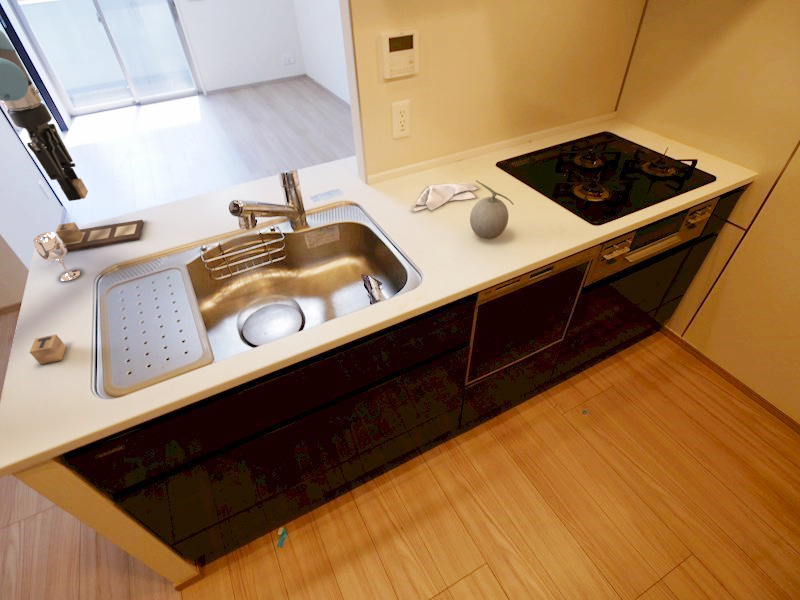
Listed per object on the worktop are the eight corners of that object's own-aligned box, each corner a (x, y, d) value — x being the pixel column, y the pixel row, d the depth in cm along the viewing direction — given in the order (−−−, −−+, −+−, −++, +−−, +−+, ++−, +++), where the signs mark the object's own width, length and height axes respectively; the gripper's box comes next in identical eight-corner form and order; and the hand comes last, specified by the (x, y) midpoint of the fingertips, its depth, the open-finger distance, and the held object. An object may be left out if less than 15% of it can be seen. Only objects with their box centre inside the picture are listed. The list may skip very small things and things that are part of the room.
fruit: (509, 246, 119) (519, 198, 109) (468, 244, 120) (474, 197, 110) (506, 226, 127) (515, 179, 117) (467, 224, 128) (472, 178, 118)
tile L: (63, 243, 121) (55, 231, 118) (66, 236, 124) (59, 224, 121) (78, 241, 122) (71, 229, 119) (82, 233, 124) (74, 221, 122)
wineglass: (57, 285, 109) (29, 246, 101) (58, 272, 113) (31, 234, 105) (82, 278, 111) (57, 240, 103) (83, 266, 115) (58, 228, 106)
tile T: (40, 364, 90) (28, 352, 87) (45, 350, 92) (34, 338, 90) (61, 360, 91) (50, 347, 88) (66, 346, 93) (56, 333, 91)
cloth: (464, 178, 150) (465, 172, 148) (486, 196, 140) (487, 189, 139) (397, 195, 141) (397, 188, 140) (416, 214, 132) (416, 208, 131)
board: (54, 254, 119) (52, 251, 118) (63, 235, 126) (61, 232, 125) (139, 239, 124) (138, 236, 123) (143, 222, 131) (142, 219, 130)
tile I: (68, 200, 114) (60, 187, 111) (72, 193, 117) (64, 180, 114) (85, 198, 115) (77, 184, 112) (88, 191, 118) (80, 177, 115)
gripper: (31, 116, 95) (85, 208, 111) (52, 93, 107) (98, 179, 123) (-8, 120, 93) (53, 213, 109) (18, 96, 105) (69, 183, 121)
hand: (77, 195), depth 116 cm, fingers closed on tile I, 4 cm apart
